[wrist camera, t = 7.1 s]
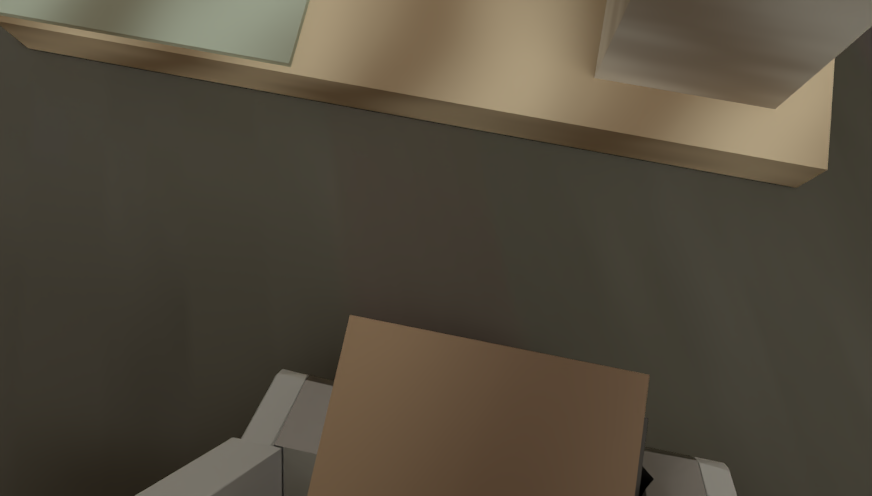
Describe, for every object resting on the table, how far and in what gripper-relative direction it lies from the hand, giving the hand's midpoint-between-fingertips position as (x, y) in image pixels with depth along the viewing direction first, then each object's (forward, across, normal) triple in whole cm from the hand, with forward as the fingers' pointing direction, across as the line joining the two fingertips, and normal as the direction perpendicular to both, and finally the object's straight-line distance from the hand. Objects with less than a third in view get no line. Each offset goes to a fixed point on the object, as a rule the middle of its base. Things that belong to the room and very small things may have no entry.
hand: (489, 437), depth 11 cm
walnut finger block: (+4, 0, +5) cm, 6 cm away
